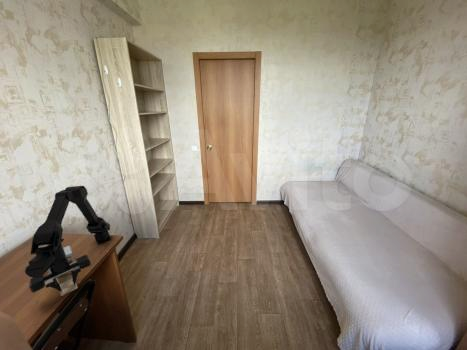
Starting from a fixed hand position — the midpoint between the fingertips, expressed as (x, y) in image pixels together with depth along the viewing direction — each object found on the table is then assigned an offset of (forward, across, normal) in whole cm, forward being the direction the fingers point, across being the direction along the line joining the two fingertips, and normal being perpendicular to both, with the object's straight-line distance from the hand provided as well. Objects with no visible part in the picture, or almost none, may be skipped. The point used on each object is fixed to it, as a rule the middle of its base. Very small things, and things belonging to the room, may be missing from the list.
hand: (68, 287), depth 84 cm
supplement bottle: (+2, +4, -40) cm, 40 cm away
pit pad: (+2, 0, -27) cm, 27 cm away
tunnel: (+2, 0, -19) cm, 19 cm away
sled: (+2, 0, -7) cm, 7 cm away
